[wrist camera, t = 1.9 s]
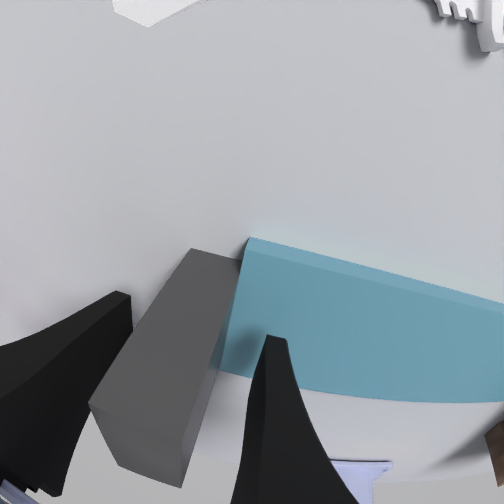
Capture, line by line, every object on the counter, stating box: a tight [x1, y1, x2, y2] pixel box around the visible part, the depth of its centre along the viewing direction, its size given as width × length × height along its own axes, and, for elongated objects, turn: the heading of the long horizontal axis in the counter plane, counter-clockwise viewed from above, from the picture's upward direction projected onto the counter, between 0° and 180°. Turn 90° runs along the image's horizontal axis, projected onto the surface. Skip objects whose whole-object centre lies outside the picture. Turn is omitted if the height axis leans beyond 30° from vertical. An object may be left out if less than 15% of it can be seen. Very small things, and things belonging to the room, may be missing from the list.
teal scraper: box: [88, 237, 504, 488], centre depth 8 cm, size 6×23×7 cm, turn 79°
